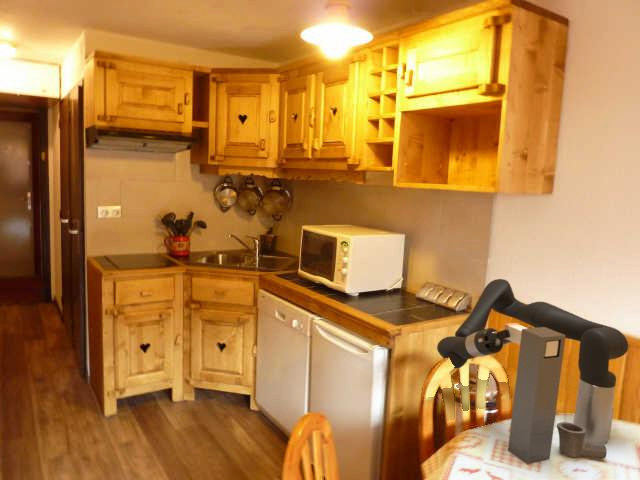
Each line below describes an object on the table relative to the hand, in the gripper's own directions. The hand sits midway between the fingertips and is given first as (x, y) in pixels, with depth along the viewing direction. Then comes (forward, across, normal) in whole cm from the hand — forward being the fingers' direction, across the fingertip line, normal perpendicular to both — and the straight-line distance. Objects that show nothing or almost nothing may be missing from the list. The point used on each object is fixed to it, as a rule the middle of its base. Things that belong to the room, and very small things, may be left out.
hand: (520, 332), depth 139 cm
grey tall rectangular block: (-10, 0, +32) cm, 33 cm away
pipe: (-6, +14, +34) cm, 37 cm away
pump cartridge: (+1, 0, +4) cm, 5 cm away
